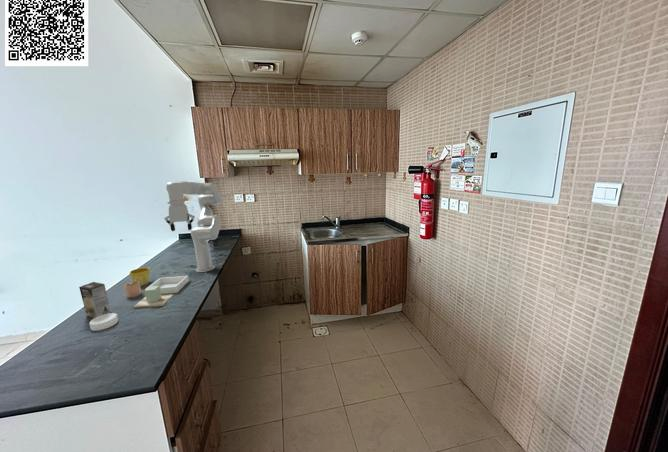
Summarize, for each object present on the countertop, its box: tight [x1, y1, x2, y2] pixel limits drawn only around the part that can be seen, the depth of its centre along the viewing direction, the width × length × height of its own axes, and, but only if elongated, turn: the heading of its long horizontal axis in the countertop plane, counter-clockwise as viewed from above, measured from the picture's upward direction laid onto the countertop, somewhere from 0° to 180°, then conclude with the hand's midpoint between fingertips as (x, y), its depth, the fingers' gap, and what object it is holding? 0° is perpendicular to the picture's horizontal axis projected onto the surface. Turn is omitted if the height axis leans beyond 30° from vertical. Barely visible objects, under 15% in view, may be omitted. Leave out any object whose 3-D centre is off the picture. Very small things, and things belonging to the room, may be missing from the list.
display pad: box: [132, 293, 175, 309], centre depth 145 cm, size 12×15×1 cm
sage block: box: [144, 286, 162, 303], centre depth 144 cm, size 5×5×7 cm
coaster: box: [89, 312, 119, 332], centre depth 124 cm, size 10×10×4 cm
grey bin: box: [144, 275, 190, 295], centre depth 160 cm, size 17×17×4 cm
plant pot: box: [129, 267, 151, 287], centre depth 168 cm, size 10×10×10 cm
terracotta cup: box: [124, 280, 143, 299], centre depth 152 cm, size 7×7×8 cm
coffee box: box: [78, 281, 111, 319], centre depth 132 cm, size 9×6×16 cm
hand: (181, 230), depth 163 cm, fingers open, 9 cm apart
